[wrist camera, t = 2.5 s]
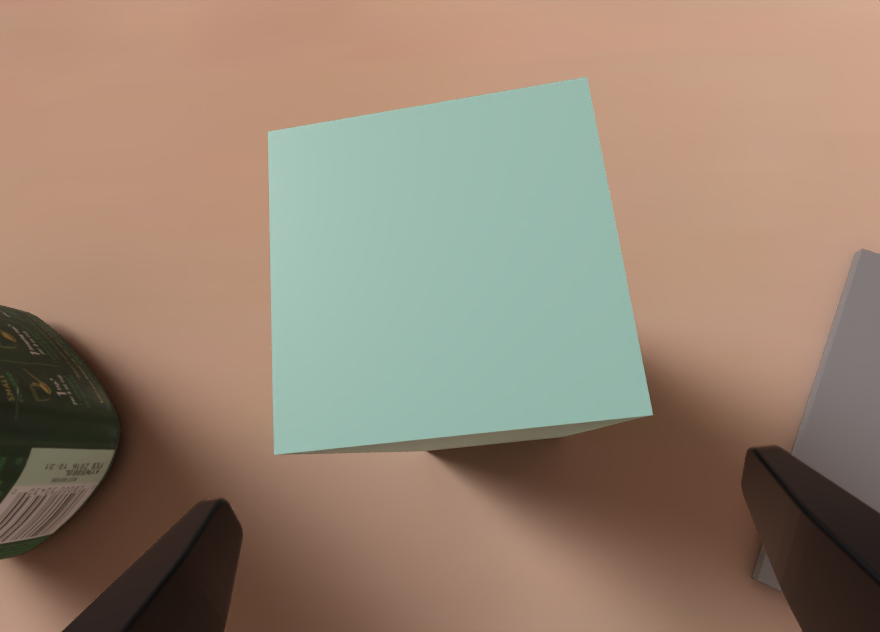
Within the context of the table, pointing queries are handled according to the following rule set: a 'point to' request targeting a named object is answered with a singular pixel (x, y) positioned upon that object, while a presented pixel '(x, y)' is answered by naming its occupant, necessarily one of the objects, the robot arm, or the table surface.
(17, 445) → the coffee jar
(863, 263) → the mat
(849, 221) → the table surface
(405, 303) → the teal tall block
